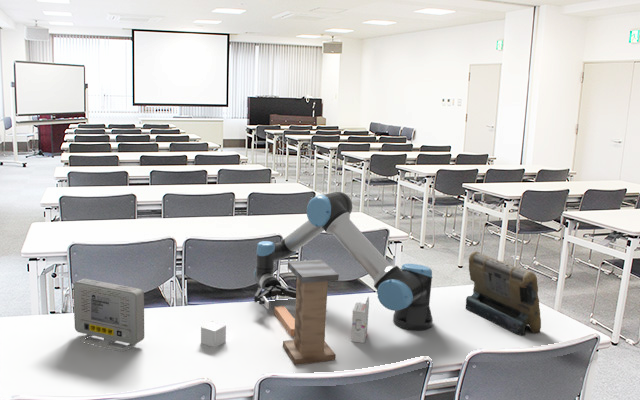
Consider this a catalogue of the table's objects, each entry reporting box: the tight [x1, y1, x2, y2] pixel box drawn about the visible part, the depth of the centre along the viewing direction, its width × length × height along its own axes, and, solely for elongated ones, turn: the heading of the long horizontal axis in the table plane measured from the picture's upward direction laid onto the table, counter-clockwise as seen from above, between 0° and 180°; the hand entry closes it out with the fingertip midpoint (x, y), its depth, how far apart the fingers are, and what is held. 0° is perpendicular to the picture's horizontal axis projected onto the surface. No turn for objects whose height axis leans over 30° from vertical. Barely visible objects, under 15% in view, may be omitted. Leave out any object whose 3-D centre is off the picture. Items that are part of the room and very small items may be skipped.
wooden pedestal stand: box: [282, 259, 339, 366], centre depth 189 cm, size 16×14×30 cm
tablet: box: [465, 250, 542, 336], centre depth 226 cm, size 33×14×25 cm, turn 35°
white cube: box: [200, 320, 227, 349], centre depth 196 cm, size 6×6×6 cm
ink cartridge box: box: [350, 296, 370, 344], centre depth 204 cm, size 9×5×15 cm, turn 168°
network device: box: [72, 278, 145, 352], centre depth 191 cm, size 26×9×20 cm, turn 71°
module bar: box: [273, 305, 295, 337], centre depth 214 cm, size 22×4×3 cm, turn 20°
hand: (285, 304), depth 216 cm, fingers open, 13 cm apart
